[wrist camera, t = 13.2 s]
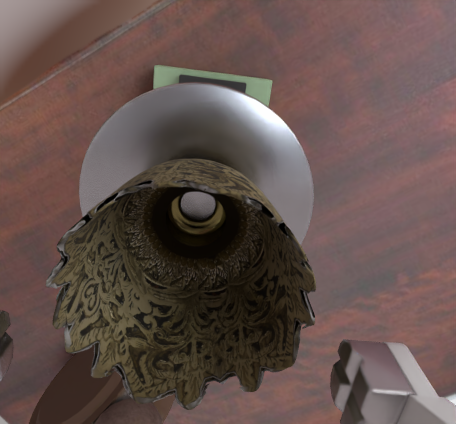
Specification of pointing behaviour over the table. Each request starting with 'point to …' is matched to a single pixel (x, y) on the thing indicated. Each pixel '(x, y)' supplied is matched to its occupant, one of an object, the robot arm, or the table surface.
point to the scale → (213, 80)
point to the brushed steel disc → (201, 148)
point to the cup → (183, 285)
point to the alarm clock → (94, 398)
